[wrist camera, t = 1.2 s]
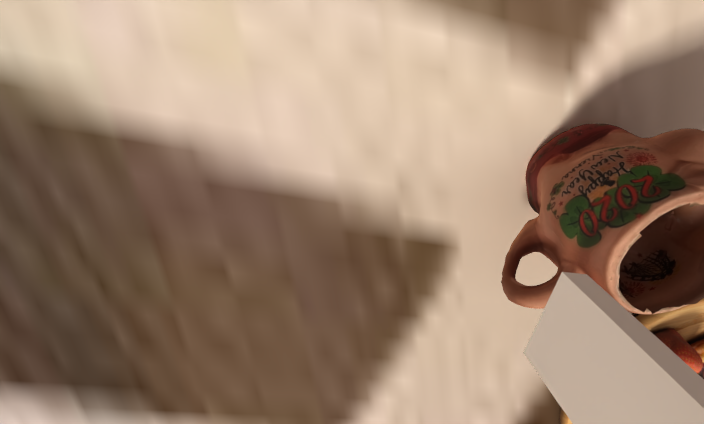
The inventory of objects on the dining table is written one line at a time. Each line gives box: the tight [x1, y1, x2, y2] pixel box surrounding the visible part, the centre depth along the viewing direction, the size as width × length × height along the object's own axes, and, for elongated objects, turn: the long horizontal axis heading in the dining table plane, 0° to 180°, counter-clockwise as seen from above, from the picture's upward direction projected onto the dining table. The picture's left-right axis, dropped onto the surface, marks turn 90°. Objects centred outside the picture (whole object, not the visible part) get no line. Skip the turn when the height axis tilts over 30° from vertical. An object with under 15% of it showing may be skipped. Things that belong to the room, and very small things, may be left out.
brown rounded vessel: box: [501, 124, 704, 314], centre depth 35 cm, size 20×12×14 cm, turn 128°
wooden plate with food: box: [559, 298, 704, 424], centre depth 54 cm, size 32×32×8 cm
